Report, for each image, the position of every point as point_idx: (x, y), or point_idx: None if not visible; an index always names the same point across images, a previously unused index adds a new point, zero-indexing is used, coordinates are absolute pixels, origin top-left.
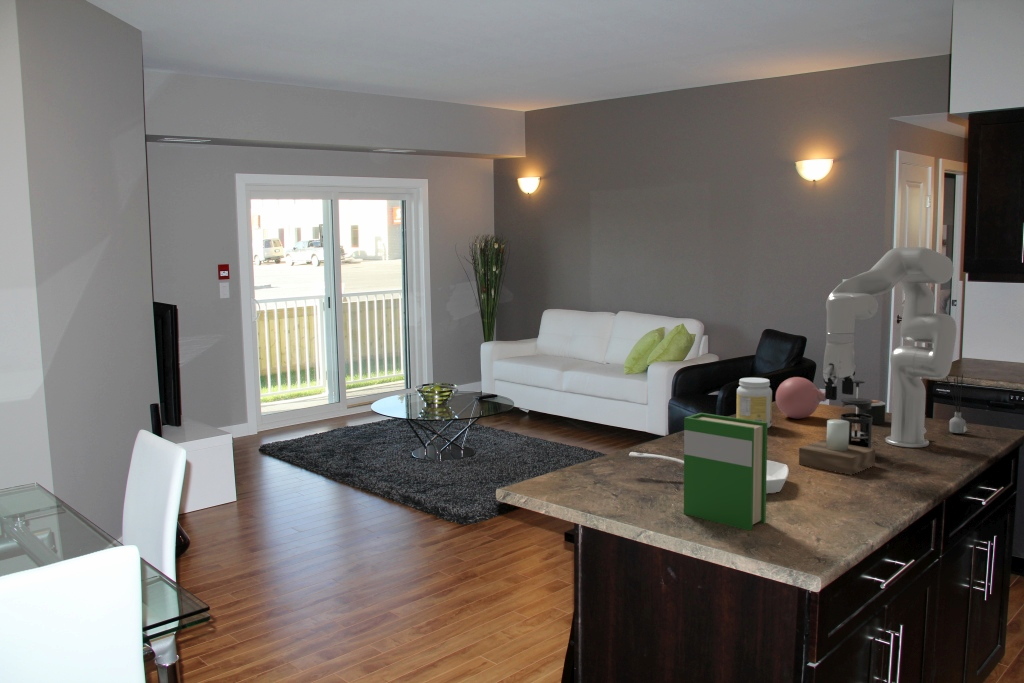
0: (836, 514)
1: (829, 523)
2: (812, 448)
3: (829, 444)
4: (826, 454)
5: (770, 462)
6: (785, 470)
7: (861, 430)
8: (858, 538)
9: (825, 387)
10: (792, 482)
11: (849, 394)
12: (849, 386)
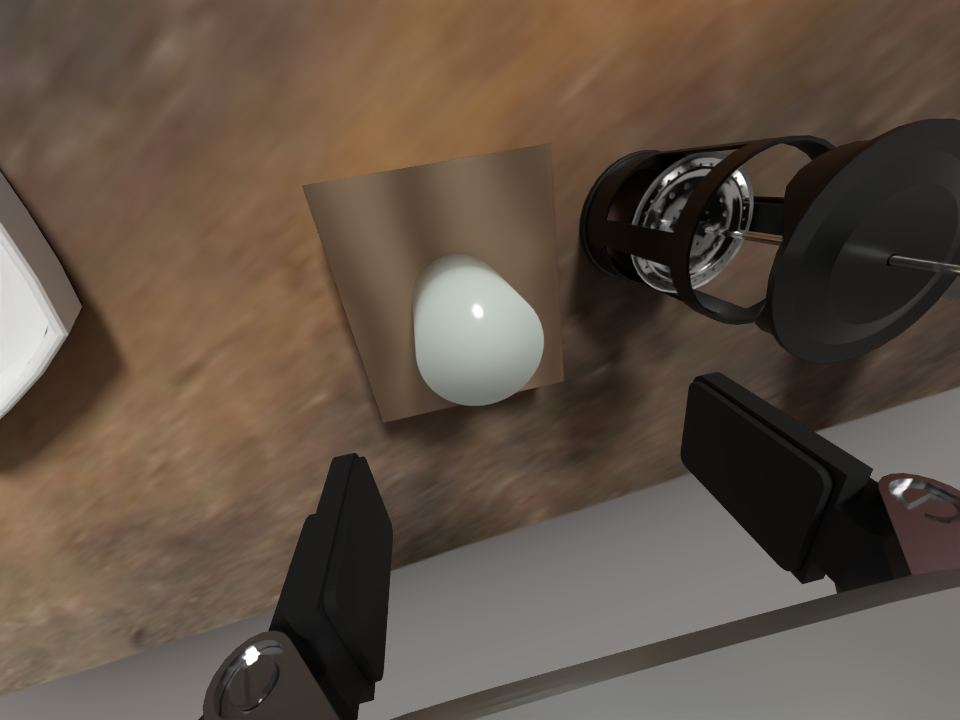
0: (71, 583)
1: (5, 616)
2: (359, 235)
3: (412, 302)
4: (352, 327)
5: (4, 247)
6: (33, 364)
7: (758, 210)
8: (24, 675)
9: (297, 578)
10: (117, 349)
11: (686, 438)
12: (744, 504)
